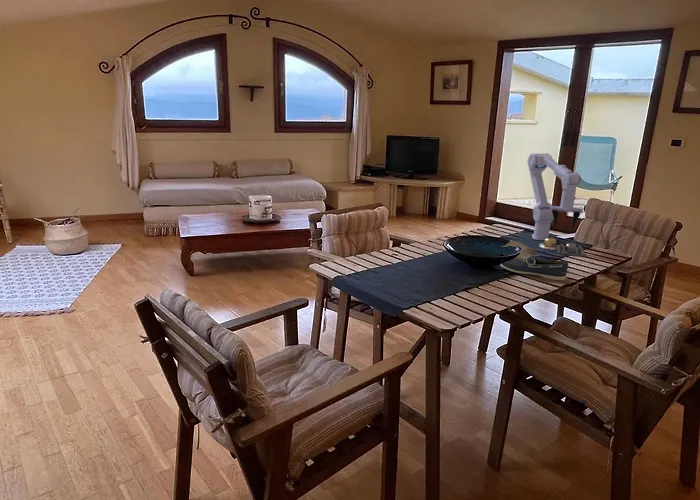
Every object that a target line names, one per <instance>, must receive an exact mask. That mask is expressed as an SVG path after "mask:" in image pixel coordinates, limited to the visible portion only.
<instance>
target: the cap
mask: <svg viewBox="0 0 700 500" xmlns="http://www.w3.org/2000/svg"><path fill="white" fill-rule="evenodd" d="M542 243H543V245H544V246H546V247H551V248H553V247H555V245H558V242H557V239H556V238H553V237H549V238H545V241H544V242H542Z"/></svg>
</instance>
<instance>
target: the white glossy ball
mask: <svg viewBox="0 0 700 500" xmlns="http://www.w3.org/2000/svg"><path fill="white" fill-rule="evenodd" d="M543 243H544V242H542V243H540V244H539V246H538V247H540V248H541V249H544V250H548V249H550V251H557V250H556V249H557V248H556V245H555V247H553V248H551V247H546V246H544V245H543Z"/></svg>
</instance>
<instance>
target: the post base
mask: <svg viewBox="0 0 700 500" xmlns="http://www.w3.org/2000/svg"><path fill="white" fill-rule="evenodd" d="M556 248H557V249H556V250H555V251H556V253H557V254H558V255H564V254H565V255H566V256H573V257H574V256H576V257H582V258H587V254H586V252H585V250H584V248H583V247H582V245H579V244H578V246H577V244H575V243H573V242H565V243H564V244H563V243H559V244H557V245H556Z"/></svg>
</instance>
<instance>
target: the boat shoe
mask: <svg viewBox="0 0 700 500" xmlns="http://www.w3.org/2000/svg"><path fill="white" fill-rule="evenodd" d="M539 256H540V254H535V255H528V256H527V257H524V256H522V257H524V260H511V259H510V261H506V262H504V263H502V262H501V263H502V264H501V263H500V267H501V268H502V269H505V270H507V271H509V272H513V273H517V274H522V275H523V274H524V275H532V276H539V277H542V278H544V279H549V280H554V281H565V280H566V279H567V273H569V272H568V269H569V262H568V261H566V260H549V259H548V260H546V259H537V258H536V257H539Z"/></svg>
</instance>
